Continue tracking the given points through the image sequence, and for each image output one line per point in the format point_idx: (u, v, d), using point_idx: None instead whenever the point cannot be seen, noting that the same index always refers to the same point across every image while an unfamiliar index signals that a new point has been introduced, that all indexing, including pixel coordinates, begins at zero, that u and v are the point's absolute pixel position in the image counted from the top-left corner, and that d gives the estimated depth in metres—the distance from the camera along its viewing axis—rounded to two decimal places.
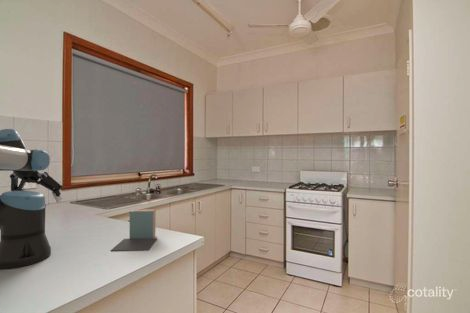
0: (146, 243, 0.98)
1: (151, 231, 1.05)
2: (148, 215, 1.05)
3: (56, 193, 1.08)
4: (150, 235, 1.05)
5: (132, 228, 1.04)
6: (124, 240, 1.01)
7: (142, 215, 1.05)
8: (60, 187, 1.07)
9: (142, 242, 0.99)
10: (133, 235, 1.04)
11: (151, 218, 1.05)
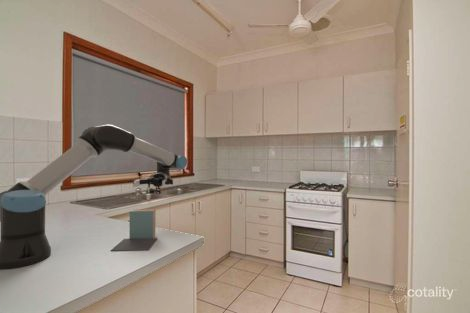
0: (146, 243, 0.98)
1: (151, 231, 1.05)
2: (148, 215, 1.05)
3: (167, 181, 1.22)
4: (150, 235, 1.05)
5: (132, 228, 1.04)
6: (124, 240, 1.01)
7: (142, 215, 1.05)
8: (172, 182, 1.25)
9: (142, 242, 0.99)
10: (133, 235, 1.04)
11: (151, 218, 1.05)
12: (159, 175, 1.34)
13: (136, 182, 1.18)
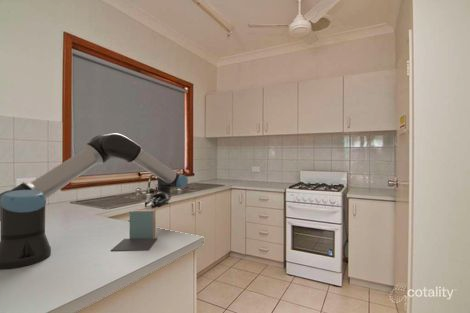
0: (146, 243, 0.98)
1: (151, 231, 1.05)
2: (148, 215, 1.05)
3: (153, 204, 1.19)
4: (150, 235, 1.05)
5: (132, 228, 1.04)
6: (124, 240, 1.01)
7: (142, 215, 1.05)
8: (159, 204, 1.22)
9: (142, 242, 0.99)
10: (133, 235, 1.04)
11: (151, 218, 1.05)
12: (160, 195, 1.33)
13: None
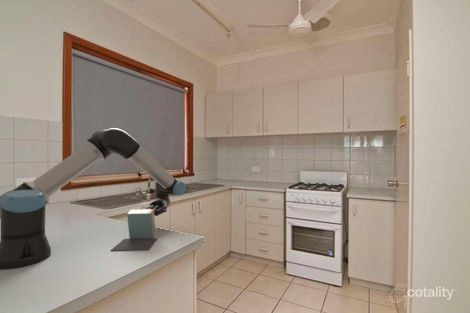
0: (146, 243, 0.98)
1: (151, 232, 1.04)
2: (146, 217, 1.02)
3: None
4: (150, 235, 1.04)
5: (132, 229, 1.03)
6: (124, 240, 1.01)
7: (140, 217, 1.02)
8: (157, 213, 1.16)
9: (142, 242, 0.99)
10: (133, 235, 1.04)
11: (150, 220, 1.03)
12: (158, 202, 1.27)
13: None
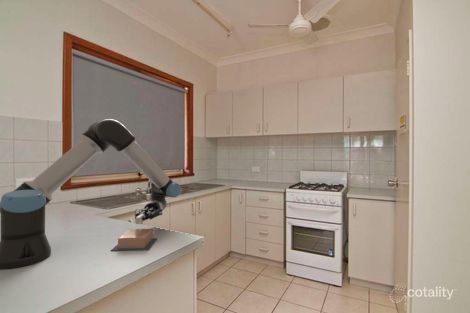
0: None
1: None
2: None
3: (144, 216, 1.05)
4: None
5: None
6: None
7: None
8: (152, 216, 1.08)
9: None
10: None
11: None
12: (153, 205, 1.20)
13: None
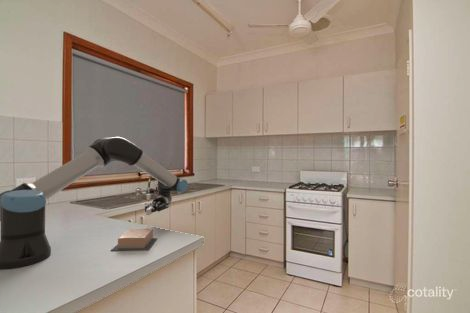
0: None
1: None
2: None
3: (153, 208, 1.19)
4: None
5: None
6: None
7: None
8: (159, 209, 1.22)
9: None
10: None
11: None
12: (160, 199, 1.34)
13: None
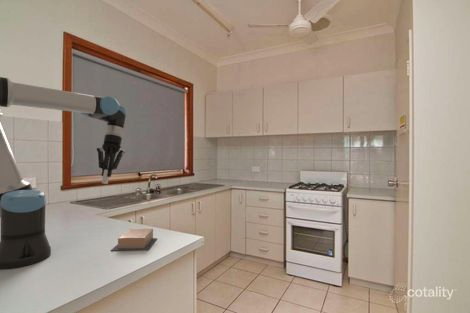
0: None
1: None
2: None
3: (108, 172, 1.14)
4: None
5: None
6: None
7: None
8: (115, 167, 1.15)
9: None
10: None
11: None
12: (111, 142, 1.15)
13: None
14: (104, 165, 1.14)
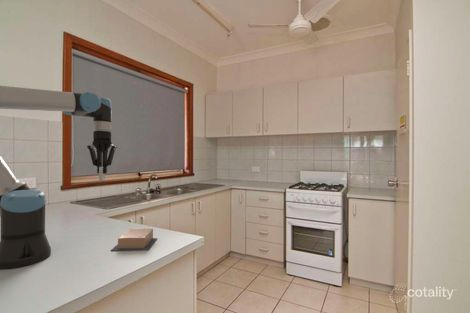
0: None
1: None
2: None
3: (104, 169, 1.14)
4: None
5: None
6: None
7: None
8: (110, 163, 1.15)
9: None
10: None
11: None
12: (101, 138, 1.12)
13: None
14: (98, 162, 1.13)
